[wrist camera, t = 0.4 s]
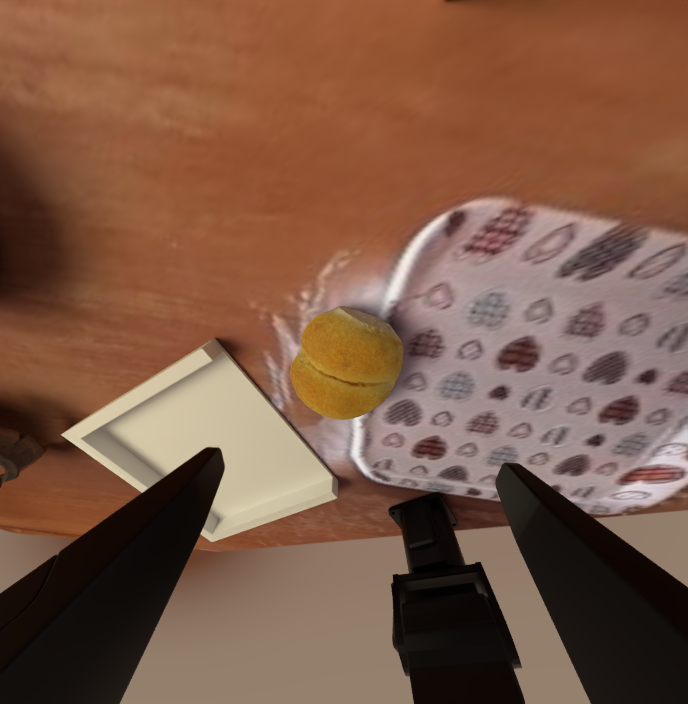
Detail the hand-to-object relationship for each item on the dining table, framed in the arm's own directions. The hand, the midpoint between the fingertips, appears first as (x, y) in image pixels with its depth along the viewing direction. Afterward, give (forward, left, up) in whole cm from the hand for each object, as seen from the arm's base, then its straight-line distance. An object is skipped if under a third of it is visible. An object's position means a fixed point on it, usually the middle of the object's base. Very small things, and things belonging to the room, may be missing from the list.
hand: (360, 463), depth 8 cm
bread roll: (-5, +3, -13) cm, 15 cm away
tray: (-5, +19, -13) cm, 24 cm away
